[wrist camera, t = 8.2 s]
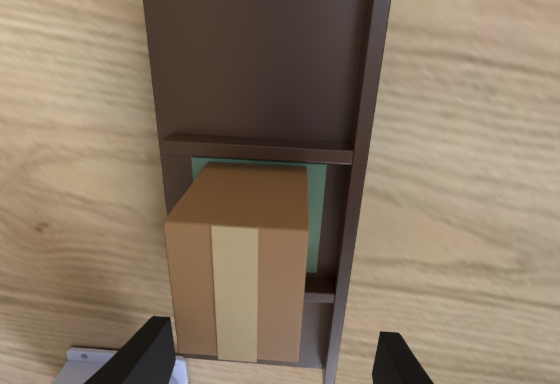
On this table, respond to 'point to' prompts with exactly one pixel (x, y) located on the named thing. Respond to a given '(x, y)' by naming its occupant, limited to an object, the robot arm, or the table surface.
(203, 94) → the rack
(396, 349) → the robot arm
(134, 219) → the table surface
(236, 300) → the parcel
